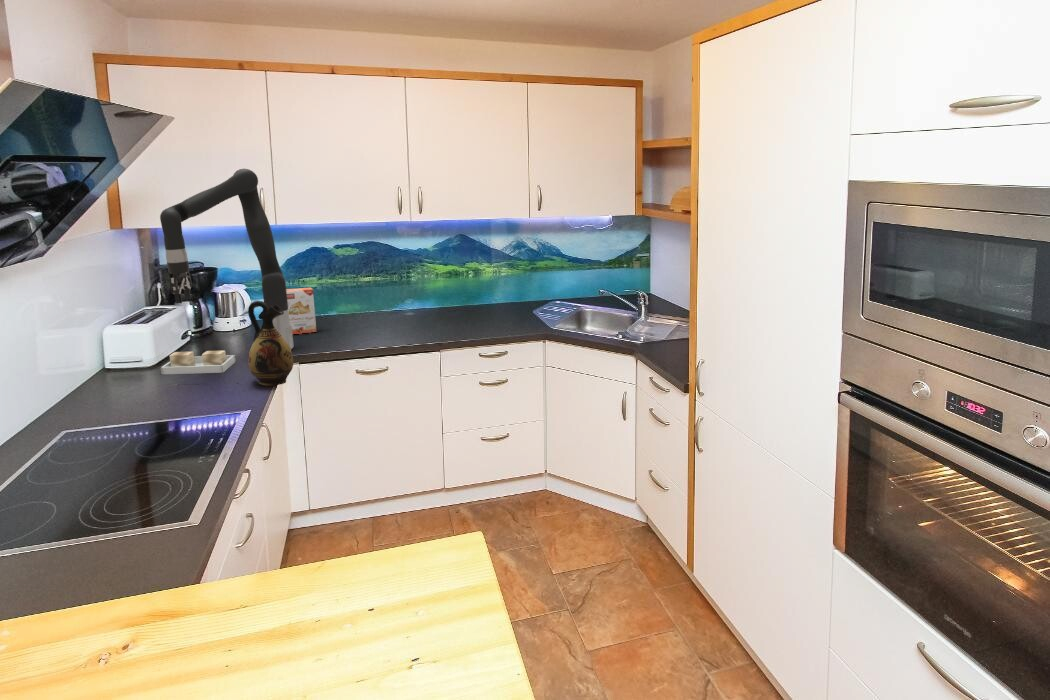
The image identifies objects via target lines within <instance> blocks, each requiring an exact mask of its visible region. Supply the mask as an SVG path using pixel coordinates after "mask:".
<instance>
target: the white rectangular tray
mask: <svg viewBox="0 0 1050 700" xmlns="http://www.w3.org/2000/svg"><path fill="white" fill-rule="evenodd" d="M194 359H195V366H179V367H171V363H170V361H168V362H166V363H165V364H164V365H162V366H161V367H160V372H161V373H160V374H161V375H162V376H163V375H185V374H186V375H189V374H194V375H195V374H219V373H226V371H227V370H228V369H229V368H231V367H232V366H233V365H234V364H235V363H236V361H237V359H236V355H235V354H226V361H225V362H224V363H223V364H222V365H208V366H204V365H203V358H202V355H198V356H195V355H194Z"/></svg>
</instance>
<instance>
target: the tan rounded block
mask: <svg viewBox="0 0 1050 700" xmlns="http://www.w3.org/2000/svg"><path fill="white" fill-rule="evenodd" d="M194 353H195V352H194V351H174V352H173V353H171V354H170V355H169V362H170V363H171V367H179V366H195V359H194V356H195V354H194Z"/></svg>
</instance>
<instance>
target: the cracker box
mask: <svg viewBox="0 0 1050 700" xmlns="http://www.w3.org/2000/svg"><path fill="white" fill-rule="evenodd" d="M286 292H287V301H288V311H289V321H290V326H292V336H294V335H293V334H299V335H303V334H302V333H309V334H312V333H311V332H317V323H316V310H315V309H316V308H315V300H314V299H315V298H314V289H313V288H312V287H300V288H286Z"/></svg>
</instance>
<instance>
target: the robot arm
mask: <svg viewBox="0 0 1050 700" xmlns="http://www.w3.org/2000/svg"><path fill="white" fill-rule="evenodd" d="M258 185H259V177H258V175H257V174H256V173H255V171H253V170H251V169H248V168H241V169H238V170H236V171H235V172H234V173H233V174H232V176H231V177H228V179H226V180H224V181H223V182H221V183H220V184H217V185H215V186H213V187H210V188H208V189H206V190H202V191H200V192H198V193H196V194H194V195H192V196H190V197H188V198H186V199H184V200H183V201H181V202H178V203H177V204H174V205H172V206H169V207H167V208H165V209H163V210H162V211H161V212H160V215H159V219H160V220H159V221H160V224H161V228H162V233H163V243H164V248H165V260H166V265H167V266H166V267H167V272H168V274H171V275H172V277H169V279H168V280H169V287H170V288H169V289H170V293H171V294H173V295H174V299H175V303H176V304H178V305H179V304H182V303H183V298H182V290H183V294H184V299H185V300H191V299H192V295H191V288H192V287H193V282H192V278H191V273H190V265H189V258H188V253H187V249H186V245H185V244H186V243H185V240H184V235H183V227H182V222H184V221H187V220H189V219H190V218H194V217H196V216H199V215H201V214H203V213H205V212H208V210H210V209H212V208H214V207H216V206H217V205H220V204H221V203H223V202H225V201H228V200H229V199H231V198H234V197H236V196H237V197H238V198H239V202H240V204H241V209H242V214H243V219H244V220H243V221H244V223H245V224H244V225H245V229H246V233H247V236H248V239H249V242H250V245H251V247H252V249H253V252H254V254H255V256H256V258H257V261H258V263H259V268H260V273H261V280H262V281H261V288H262V297H263V302H265V303H266V304H267V306H268V308H270V307H271V306H274V305H277V306H279V307H280V308H281V310H282V311H283V312H284V314H283V315H280V316H278V317H276V318H274V319H273V325H274V327H275V328H276V330H277V331H278V332H279V333H280V334H281V335H282V337H283V338H284V339H285V341H286V342H287V344H288V346H289V347H290V350H291V351H292V349H293V348H294V338H293V336H294V335H292V326H290V321H289V311H288V301H287V292H286V289H287V284H286V283H287V282H286V277H285V276H284V274H283V272H282V269H281V267H280V263H279V261H278V257H277V252H276V245H275V240H274V235H273V231H272V227H271V225H270V222H269V219H268V217H267V214H266V212H265V210H264V208H263V206H262V204H261V200H260V195H259V191H258Z"/></svg>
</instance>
